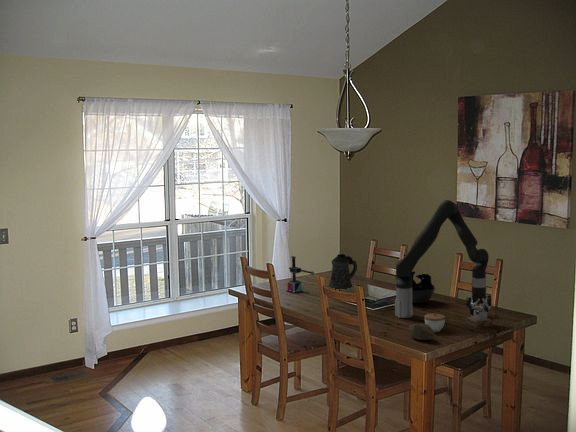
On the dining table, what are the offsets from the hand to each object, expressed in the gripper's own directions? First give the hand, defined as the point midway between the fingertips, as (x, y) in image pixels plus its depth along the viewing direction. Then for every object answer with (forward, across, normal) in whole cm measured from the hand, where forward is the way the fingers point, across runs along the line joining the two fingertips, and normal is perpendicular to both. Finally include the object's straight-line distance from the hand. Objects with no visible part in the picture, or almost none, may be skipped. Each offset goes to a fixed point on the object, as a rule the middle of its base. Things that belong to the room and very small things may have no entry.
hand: (478, 314), depth 346 cm
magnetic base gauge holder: (+6, +70, -109) cm, 130 cm away
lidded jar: (+6, +27, 0) cm, 28 cm away
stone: (+6, +41, +11) cm, 42 cm away
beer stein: (+6, +41, -103) cm, 111 cm away
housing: (+3, 0, 0) cm, 3 cm away
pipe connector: (+6, -10, -13) cm, 17 cm away
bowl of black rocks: (+6, +9, -53) cm, 54 cm away
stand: (+6, 0, 0) cm, 6 cm away
